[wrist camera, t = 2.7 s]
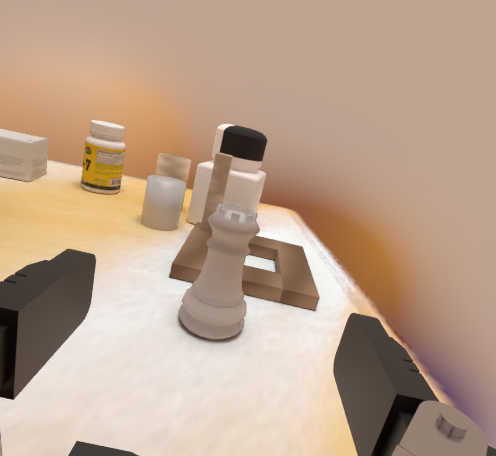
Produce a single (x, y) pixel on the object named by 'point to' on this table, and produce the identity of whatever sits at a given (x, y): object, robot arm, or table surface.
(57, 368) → the table surface
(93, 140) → the supplement bottle
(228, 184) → the medicine bottle
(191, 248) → the hole board
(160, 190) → the short grey peg
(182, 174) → the medium beech peg
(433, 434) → the robot arm
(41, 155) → the small box
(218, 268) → the rook chess piece
